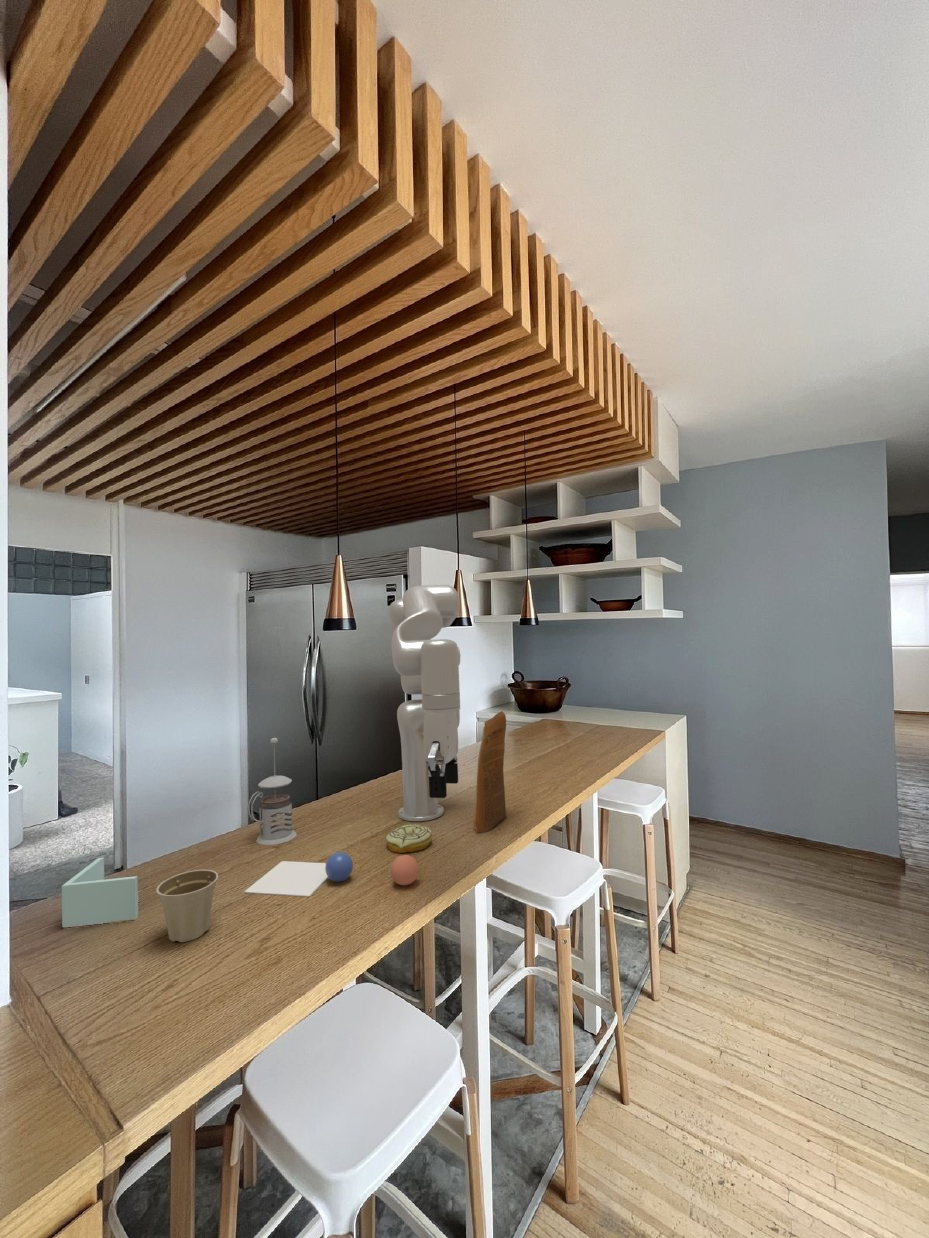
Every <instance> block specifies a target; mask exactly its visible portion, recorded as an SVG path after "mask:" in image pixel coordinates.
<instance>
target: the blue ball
mask: <svg viewBox="0 0 929 1238" xmlns="http://www.w3.org/2000/svg"><path fill="white" fill-rule="evenodd" d="M325 863H326V866H325V871H326V874H327V876H328V878H327V879H330V881H332V882H336V883H340V882H343V881H345V880H347V879H348V878H349V877H350V876H351V874H352V873H353V868H354V862H353V860H352V857H351V856H350V855H349V854H348V853H346V852H344V851H343V852H342V851H338V852H335V853H333V854H332V855H330V856H329V857H328V859H327V860H326V862H325Z"/></svg>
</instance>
